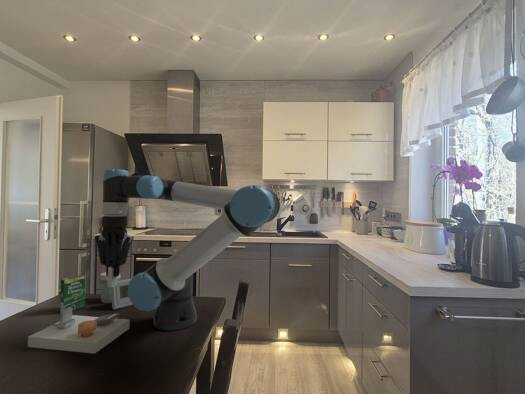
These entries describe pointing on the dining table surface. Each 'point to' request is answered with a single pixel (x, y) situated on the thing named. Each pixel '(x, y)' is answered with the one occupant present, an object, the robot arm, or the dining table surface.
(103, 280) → the coffee cup
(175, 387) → the dining table surface
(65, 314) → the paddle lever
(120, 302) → the digital clock
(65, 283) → the coffee box
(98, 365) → the dining table surface
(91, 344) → the panel
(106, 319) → the grey flat block
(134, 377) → the dining table surface
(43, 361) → the dining table surface
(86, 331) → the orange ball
